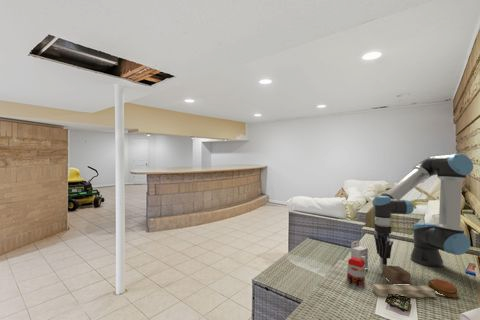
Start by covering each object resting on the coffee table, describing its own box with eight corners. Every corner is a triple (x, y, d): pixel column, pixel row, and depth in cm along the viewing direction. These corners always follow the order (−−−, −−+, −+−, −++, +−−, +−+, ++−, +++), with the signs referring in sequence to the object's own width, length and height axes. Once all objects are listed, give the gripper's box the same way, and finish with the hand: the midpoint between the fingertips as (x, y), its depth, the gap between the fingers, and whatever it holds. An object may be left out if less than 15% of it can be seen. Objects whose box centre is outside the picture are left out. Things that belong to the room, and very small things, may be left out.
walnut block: (399, 278, 112) (398, 266, 113) (410, 286, 104) (410, 273, 105) (382, 277, 113) (382, 265, 113) (392, 285, 105) (392, 272, 105)
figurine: (344, 281, 107) (344, 256, 108) (349, 276, 112) (349, 252, 113) (364, 287, 101) (363, 261, 102) (368, 282, 107) (368, 257, 107)
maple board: (427, 292, 98) (427, 285, 99) (435, 297, 94) (435, 290, 95) (373, 291, 99) (373, 284, 99) (378, 296, 95) (378, 288, 95)
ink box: (360, 272, 117) (359, 244, 118) (350, 269, 121) (350, 241, 122) (368, 269, 122) (367, 242, 123) (359, 266, 126) (358, 239, 127)
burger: (463, 299, 94) (463, 287, 94) (441, 298, 94) (440, 287, 95) (443, 287, 104) (442, 277, 104) (422, 286, 104) (422, 276, 104)
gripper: (369, 222, 126) (369, 264, 125) (383, 227, 113) (384, 275, 112) (382, 222, 126) (383, 265, 124) (398, 228, 113) (399, 275, 111)
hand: (383, 269), depth 118 cm, fingers closed
